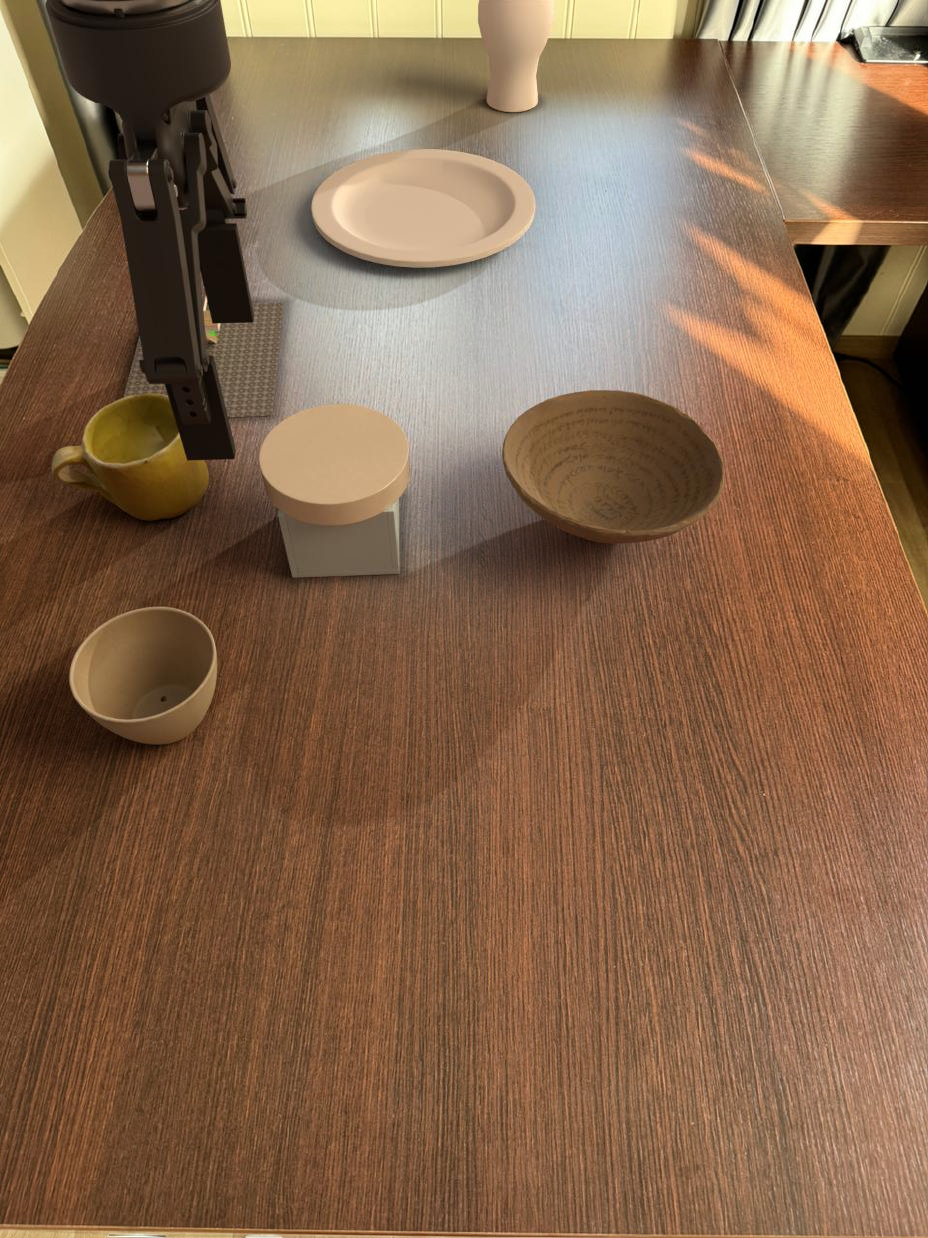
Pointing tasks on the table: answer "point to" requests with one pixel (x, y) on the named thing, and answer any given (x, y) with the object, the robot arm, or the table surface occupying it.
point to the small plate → (335, 464)
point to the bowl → (613, 466)
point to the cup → (514, 49)
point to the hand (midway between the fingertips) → (223, 383)
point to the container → (343, 546)
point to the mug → (135, 459)
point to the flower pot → (147, 674)
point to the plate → (423, 208)
